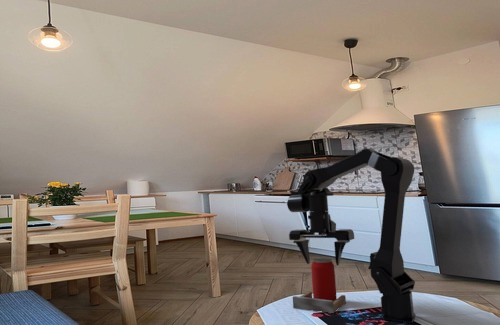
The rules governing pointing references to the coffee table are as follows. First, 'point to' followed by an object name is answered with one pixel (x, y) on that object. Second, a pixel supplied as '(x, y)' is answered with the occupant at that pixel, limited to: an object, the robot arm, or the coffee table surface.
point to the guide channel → (317, 303)
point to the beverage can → (323, 279)
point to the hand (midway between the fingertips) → (322, 264)
